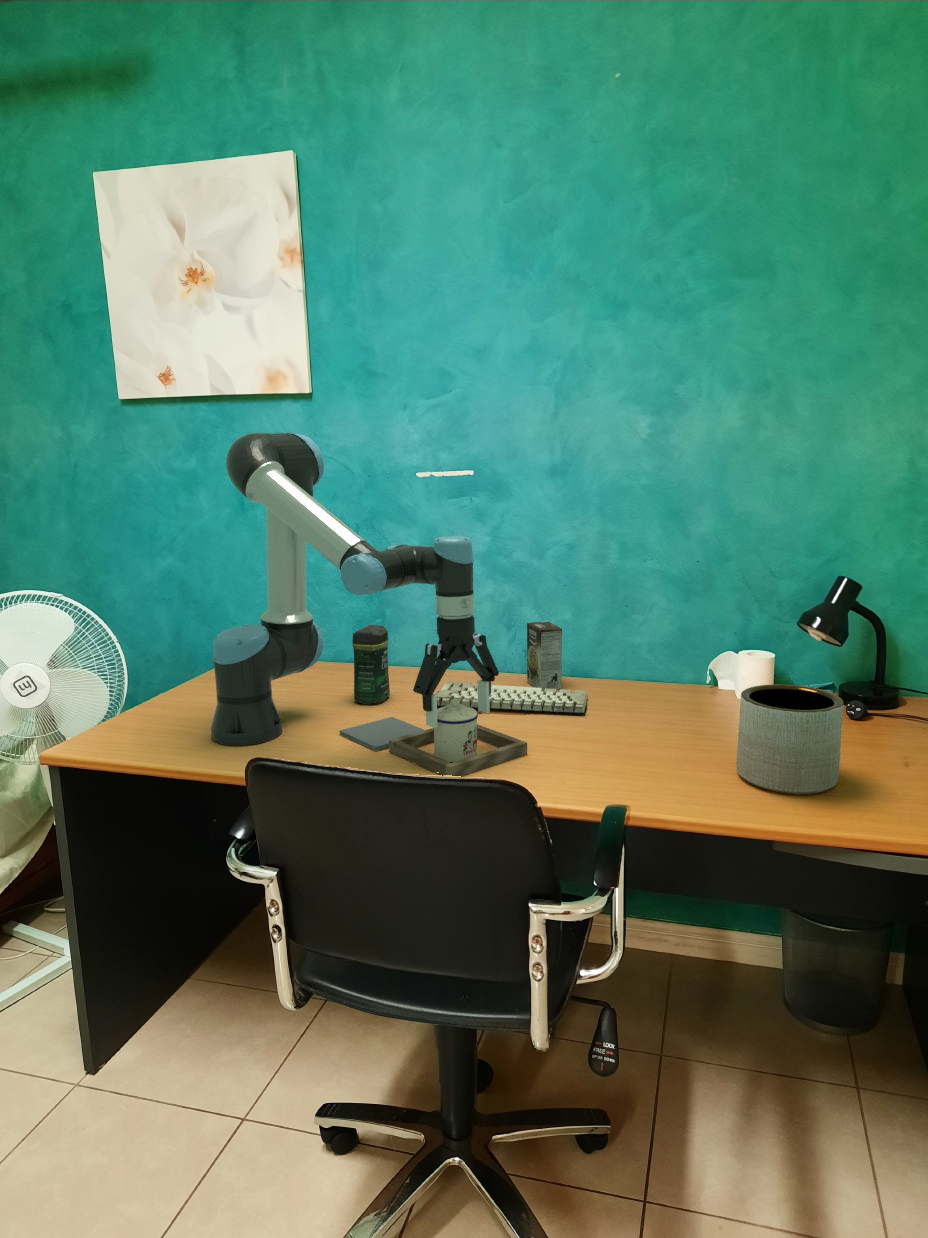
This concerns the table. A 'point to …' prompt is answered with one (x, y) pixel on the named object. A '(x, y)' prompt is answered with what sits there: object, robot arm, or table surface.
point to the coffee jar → (371, 664)
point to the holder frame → (506, 752)
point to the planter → (789, 738)
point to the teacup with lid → (455, 732)
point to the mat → (379, 732)
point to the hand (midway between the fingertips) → (458, 718)
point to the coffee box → (544, 655)
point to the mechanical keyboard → (517, 700)
